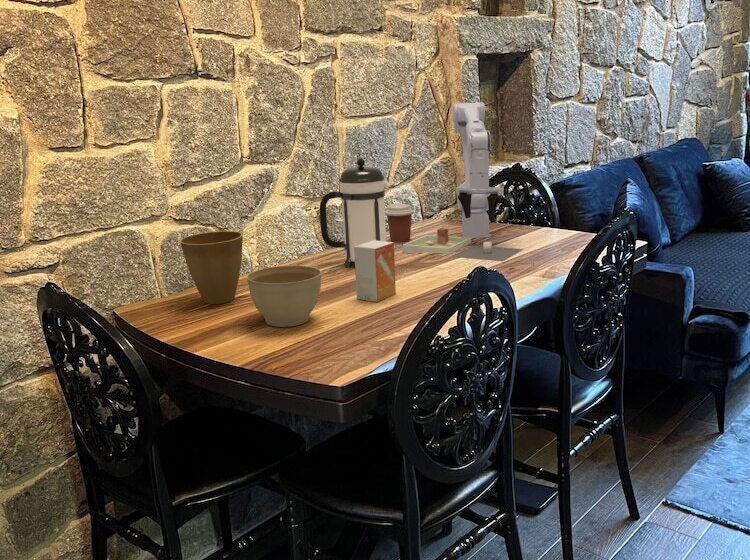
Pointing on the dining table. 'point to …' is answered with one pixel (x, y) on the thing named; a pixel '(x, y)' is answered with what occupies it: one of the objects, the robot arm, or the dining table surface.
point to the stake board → (492, 256)
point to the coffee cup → (399, 223)
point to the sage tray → (414, 247)
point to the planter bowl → (285, 293)
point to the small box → (375, 270)
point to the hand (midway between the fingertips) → (479, 218)
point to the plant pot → (214, 263)
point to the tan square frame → (440, 239)
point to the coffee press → (358, 209)
